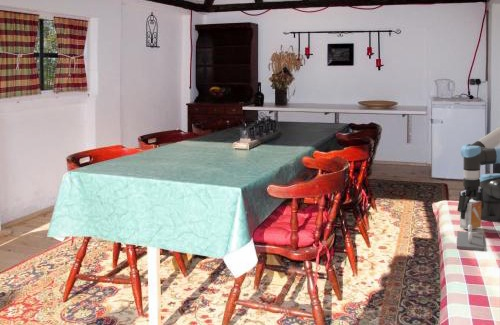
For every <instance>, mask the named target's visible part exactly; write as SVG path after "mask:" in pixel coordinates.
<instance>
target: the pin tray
mask: <svg viewBox="0 0 500 325" xmlns="http://www.w3.org/2000/svg"><path fill="white" fill-rule="evenodd" d="M483 235H484V234H483V233H482V232H473V229H472V225H468V229H467V231H460V230H459V231H457V232H456V249H457V250H458V249H460V250H470V251H483V252H484V251H485V247H484V246H485V245H484V238H483V237H484V236H483Z"/></svg>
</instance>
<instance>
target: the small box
mask: <svg viewBox="0 0 500 325" xmlns="http://www.w3.org/2000/svg"><path fill="white" fill-rule="evenodd" d="M481 202H482V201H475V200H473V198H471V200H470V201H469V203H468V204H467V210H466V213H467V226H464V225H461V212H459V215H460V217H459V228H461V229H466V230H468V225H472V230H474V229H475V230H476V229H477V228H480V227H482V219H481ZM463 210H464V209H463Z"/></svg>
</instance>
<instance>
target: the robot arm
mask: <svg viewBox="0 0 500 325" xmlns="http://www.w3.org/2000/svg"><path fill="white" fill-rule="evenodd" d="M499 145H500V126H499V127H497V128H495V129H494V130H492V131H491V132H489V133H487V134H486V135H485V136H483V137H481V138H480V139H478V140H477V141H475V142H472V144H471V143H466V144H464V145H463V146H462V147H461V149H460V154H461V157H463V175H462V176H463V179H462V186H463V188H464V189H463V190H461V191H460V190H459V198H458V205H457V209H456V210H457V212H459V213H460V212H461V225H464V226H467V213H466V210H467V204H468V203H469V201H470V200H471V199H473V200H475V201H482V202H481V221H482V220H483V221H489V222H500V173H497V172H496V173H495V172H494V173H483V174H481V166H486V165H496V164H500V148H499ZM497 146H498V147H497ZM463 209H464V210H463Z"/></svg>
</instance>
